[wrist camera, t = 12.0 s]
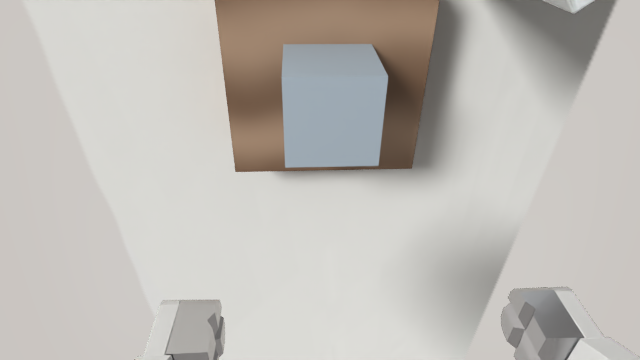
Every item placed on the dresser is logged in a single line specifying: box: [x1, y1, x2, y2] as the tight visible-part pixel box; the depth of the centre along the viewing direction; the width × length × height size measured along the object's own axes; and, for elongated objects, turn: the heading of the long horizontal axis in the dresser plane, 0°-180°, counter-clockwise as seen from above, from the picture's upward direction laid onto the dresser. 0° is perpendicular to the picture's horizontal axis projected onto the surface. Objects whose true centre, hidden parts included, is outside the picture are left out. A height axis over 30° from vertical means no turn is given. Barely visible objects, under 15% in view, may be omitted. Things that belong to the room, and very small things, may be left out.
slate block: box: [282, 44, 388, 168], centre depth 23 cm, size 5×5×5 cm
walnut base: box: [215, 0, 439, 172], centre depth 27 cm, size 12×12×4 cm
